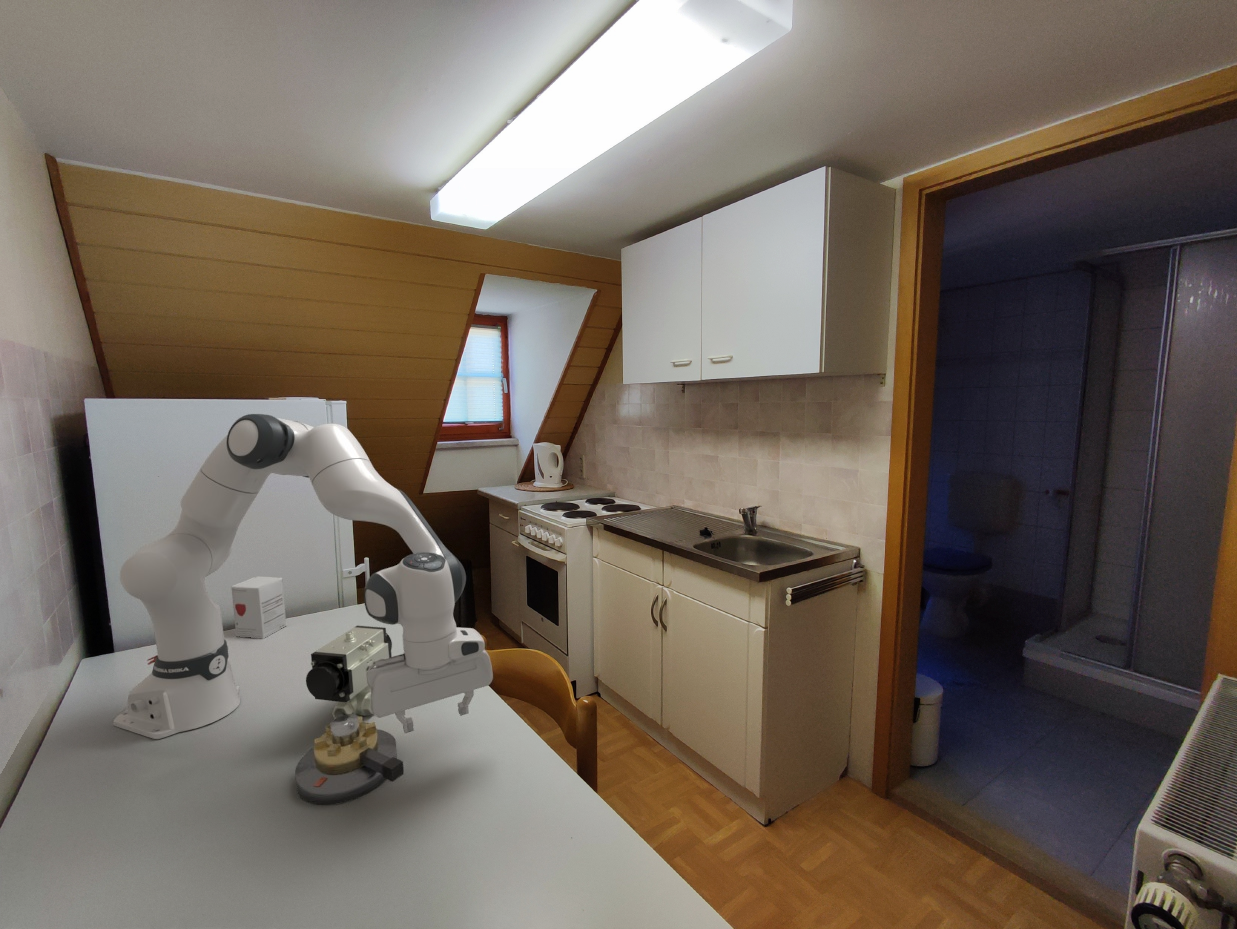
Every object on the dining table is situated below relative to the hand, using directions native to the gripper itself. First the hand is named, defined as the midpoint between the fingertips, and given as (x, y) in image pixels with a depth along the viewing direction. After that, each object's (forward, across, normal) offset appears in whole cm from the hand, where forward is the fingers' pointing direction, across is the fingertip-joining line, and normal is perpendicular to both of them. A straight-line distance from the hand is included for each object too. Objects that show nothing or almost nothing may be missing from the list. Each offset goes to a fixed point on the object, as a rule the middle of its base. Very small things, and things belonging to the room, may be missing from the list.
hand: (436, 721), depth 97 cm
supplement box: (+8, -30, +87) cm, 93 cm away
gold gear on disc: (+9, -14, +8) cm, 18 cm away
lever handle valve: (+5, -12, +4) cm, 14 cm away
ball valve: (+9, -11, +27) cm, 31 cm away
